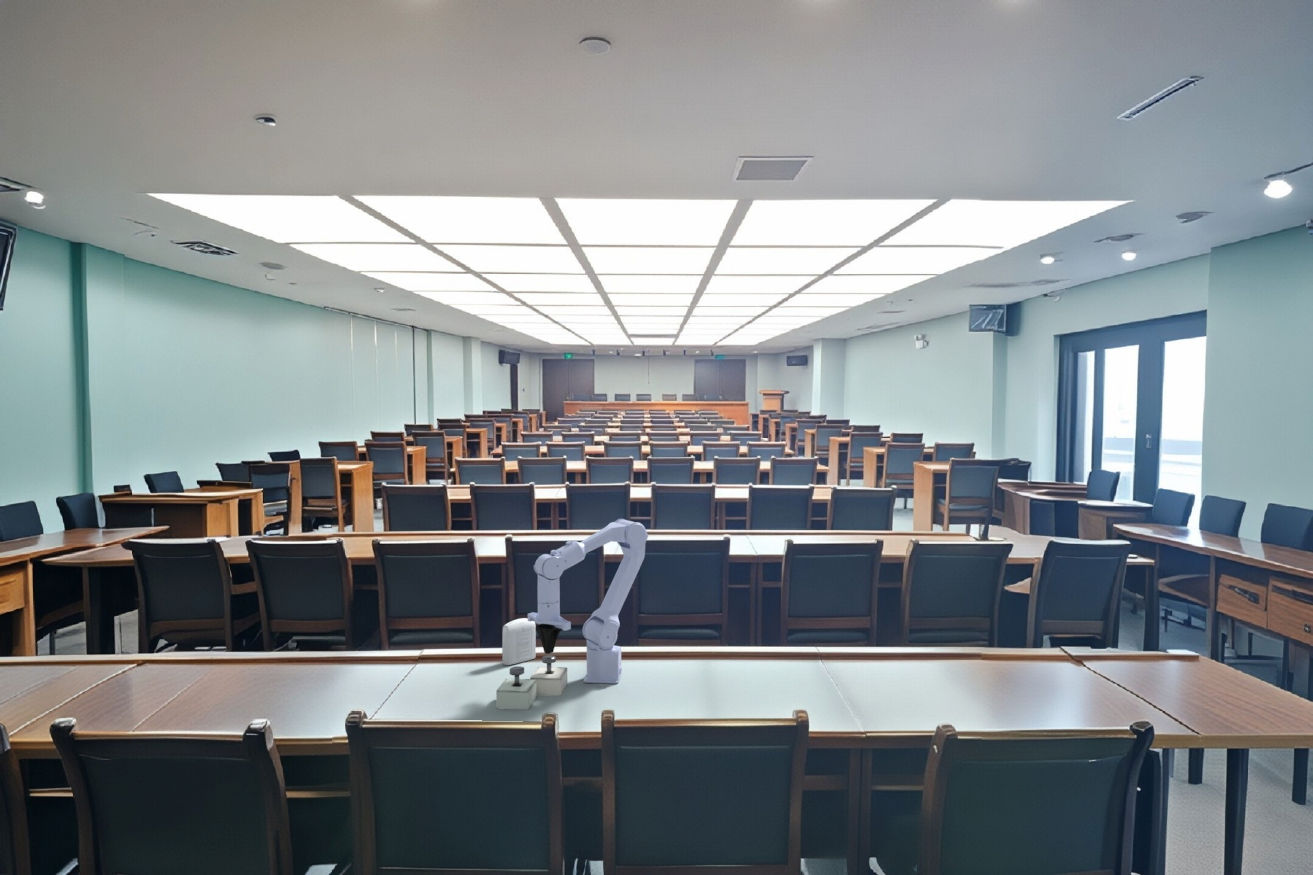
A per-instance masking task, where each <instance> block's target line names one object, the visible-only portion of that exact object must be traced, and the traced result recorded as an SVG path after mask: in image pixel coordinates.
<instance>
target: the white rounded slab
mask: <svg viewBox="0 0 1313 875" xmlns="http://www.w3.org/2000/svg"><path fill="white" fill-rule="evenodd" d="M501 634H502V644H501V645H502V649H501V652H502V658H501V659H502V664H503V665H505V666H512V665H515V664H519V663H523V662H526V661H531V660H534V659H535V658H536V654H537V653H536V652H537V650H536V646H537V645H536V644H537V643H536V642H537V640H536V639H537V638H536V637H537V635H536V634H537V631H536V623H535V622H534V621H528V617H527V618H526V617H524V618H523V617H521V618H517V619H514V620H511V621H509V622H507V623H505V624H504V625H503V626H502V633H501Z"/></svg>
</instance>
